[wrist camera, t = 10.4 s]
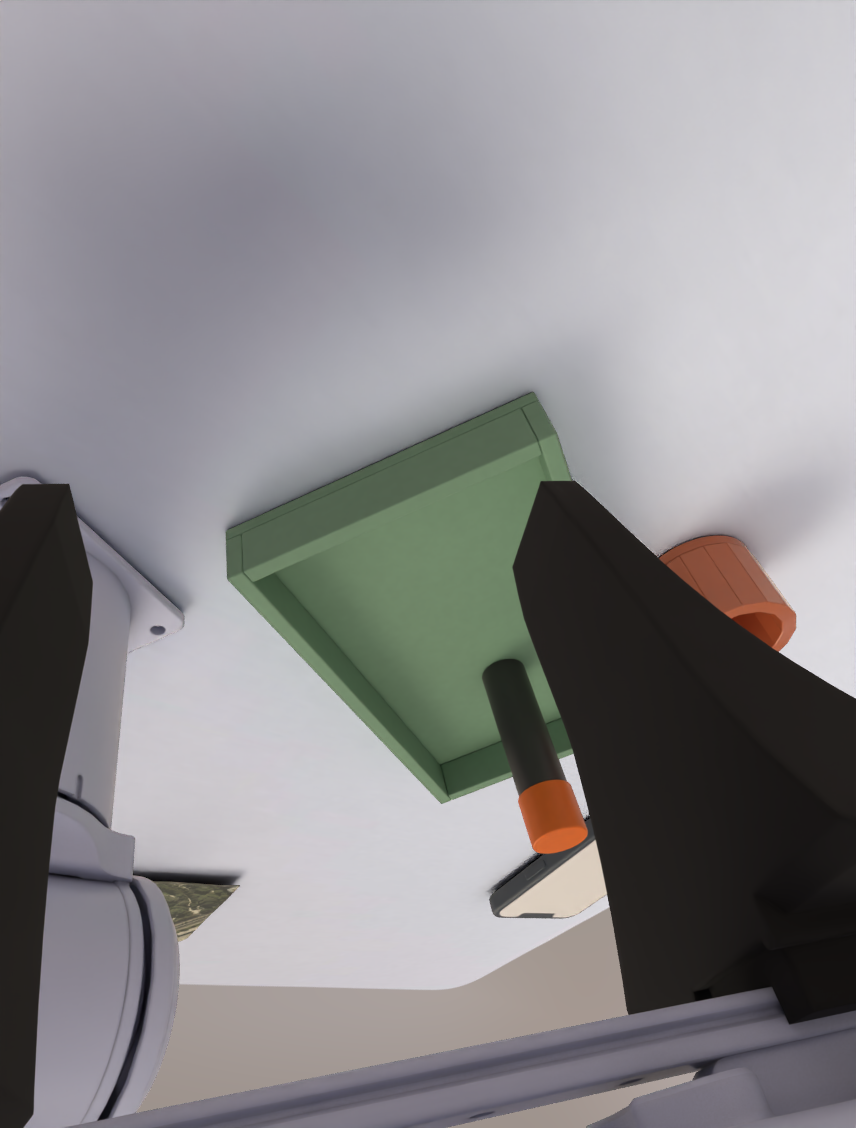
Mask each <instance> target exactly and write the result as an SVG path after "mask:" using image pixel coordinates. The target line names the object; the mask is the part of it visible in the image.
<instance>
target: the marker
mask: <svg viewBox="0 0 856 1128" xmlns="http://www.w3.org/2000/svg"><path fill="white" fill-rule="evenodd" d="M482 680H483V684H484V687H485V690H486V693H487V696H488V700H489V703H490V706H491V709H492V712H493V715H494V719H495V722H496V725H497V728H498V731H499V734H500V738H501V741H502V744H503V747H504V750H505V753H506V757H507V760H508V763H509V766H510V769H511V772H512V776H513V779H514V782H515V785H516V788H517V791H518V795H519V800H518V803H519V806H520V809H521V813H522V816H523V819H524V822H525V825H526V829H527V832H528V835H529V838H530V841H531V845H532V848H533V849H534V850H535V851H536V852H538V853H542V854H550V853H557V852H561V851H564V850H567V849H570V848H572V847H574V846H576V845H578V844H579V843H581V842H582V841H583V840H584V839H585V838H586V837H587V835H588V830H587V827H586V824H585V822H584V819H583V816H582V814H581V811H580V808H579V806H578V803H577V800H576V797H575V795H574V792H573V789H572V787H571V785H570V784H569V783H568V782H567V780H566V778H565V775H564V772H563V770H562V767H561V764H560V761H559V759H558V756H557V753H556V751H555V748H554V745H553V743H552V740H551V737H550V734H549V732H548V729H547V726H546V724H545V721H544V718H543V715H542V713H541V710H540V707H539V705H538V702H537V699H536V696H535V694H534V691H533V688H532V686H531V683H530V680H529V677H528V675H527V672H526V669H525V667H524V664H523V663H522V662H520V661H519V660H516V659H504V660H500V661H497V662H495V663H493V664H491V665H490V666H489V667H487V668H486V669H485V671H484V672H483V675H482Z"/></svg>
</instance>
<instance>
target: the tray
mask: <svg viewBox="0 0 856 1128" xmlns="http://www.w3.org/2000/svg"><path fill="white" fill-rule="evenodd" d="M541 481H572V479H571V476H570V473H569V470H568V467H567V463H566V460H565V457H564V454H563V451H562V448H561V445H560V442H559V438H558V435H557V433H556V431H555V429H554V427H553V425H552V424H551V422H550V420H549V418H548V416H547V415H546V413H545V411H544V409H543V407H542V406H541V404H540V402H539V400H538V398H537V397H536V395H535V393H534V392H532V393H530V394H527V395H525V396H523V397H521V398H519V399H516V400H514V401H512V402H510V403H507V404H505V405H503V406H501V407H499V408H496V409H494V410H492V411H490V412H488V413H485V414H483V415H481V416H479V417H477V418H474V419H472V420H470V421H468V422H465V423H463V424H461V425H459V426H457V427H454V428H452V429H450V430H448V431H446V432H443V433H441V434H439V435H437V436H435V437H432V438H430V439H428V440H426V441H424V442H421V443H419V444H417V445H415V446H412V447H410V448H408V449H406V450H404V451H401V452H399V453H397V454H395V455H393V456H390V457H388V458H386V459H384V460H382V461H379V462H377V463H375V464H373V465H370V466H368V467H366V468H364V469H362V470H359V471H357V472H355V473H353V474H351V475H348V476H346V477H344V478H342V479H340V480H337V481H335V482H333V483H331V484H328V485H326V486H324V487H322V488H320V489H317V490H315V491H313V492H311V493H309V494H306V495H304V496H302V497H300V498H298V499H295V500H293V501H291V502H289V503H286V504H284V505H282V506H280V507H278V508H275V509H273V510H271V511H269V512H267V513H264V514H262V515H260V516H258V517H256V518H253V519H251V520H249V521H247V522H245V523H242V524H240V525H238V526H236V527H233V528H231V529H229V530H227V531H226V558H227V579H228V581H229V582H230V583H231V584H232V585H233V586H234V587H235V588H236V589H237V590H238V591H239V592H240V593H241V594H242V595H243V596H244V597H245V598H246V599H247V601H248V602H249V603H250V604H251V605H252V606H253V607H254V608H255V609H256V610H257V611H258V612H259V613H260V614H261V615H262V616H263V617H264V618H265V619H266V620H267V622H268V623H269V624H270V625H271V626H272V627H273V628H274V629H275V630H276V631H277V632H278V633H279V634H280V635H281V636H282V637H283V638H284V639H285V640H286V641H287V642H288V644H289V645H290V646H291V647H292V648H293V649H294V650H295V651H296V652H297V653H298V654H299V655H300V656H301V657H302V658H303V659H304V660H305V661H306V662H307V663H308V665H309V666H310V667H311V668H312V669H313V670H314V671H315V672H316V673H317V674H318V675H319V676H320V677H321V678H322V679H323V680H324V681H325V682H326V683H327V684H328V686H329V687H330V688H331V689H332V690H333V691H334V692H335V693H336V694H337V695H338V696H339V697H340V698H341V699H342V700H343V701H344V702H345V703H346V704H347V705H348V706H349V708H350V709H351V710H352V711H353V712H354V713H355V714H356V715H357V716H358V717H359V718H360V719H361V720H362V721H363V722H364V723H365V724H366V725H367V726H368V727H369V729H370V730H371V731H372V732H373V733H374V734H375V735H376V736H377V737H378V738H379V739H380V740H381V741H382V742H383V743H384V744H385V745H386V746H387V747H388V748H389V749H390V751H391V752H392V753H393V754H394V755H395V756H396V757H397V758H398V759H399V760H400V761H401V762H402V763H403V764H404V765H405V766H406V767H407V768H408V769H409V770H410V772H411V773H412V774H413V775H414V776H415V777H416V778H417V779H418V780H419V781H420V782H421V783H422V784H423V785H424V786H425V787H426V788H427V789H428V790H429V791H430V793H431V794H432V795H433V796H434V797H435V798H436V799H437V800H438V801H439V802H440V803H441V804H443V803H445V802H448V801H451V799H452V800H453V799H456V798H459V797H461V796H464V795H466V794H469V793H472V792H474V791H477V790H479V789H482V788H485V787H487V786H490V785H493V784H495V783H498V782H500V781H503V780H506V779H508V778H511V777H513V776H512V772H511V769H510V766H509V763H508V760H507V757H506V753H505V750H504V747H503V744H502V741H501V738H500V734H499V731H498V728H497V725H496V722H495V719H494V715H493V712H492V709H491V706H490V703H489V700H488V696H487V693H486V690H485V687H484V684H483V680H482V675H483V672H484V671H485V669H486V668H487V667H489V666H490V665H491V664H493V663H495V662H497V661H500V660H504V659H516V660H519V661H520V662H522V663H523V664H524V667H525V669H526V672H527V675H528V677H529V680H530V683H531V686H532V688H533V691H534V694H535V696H536V699H537V702H538V705H539V707H540V710H541V713H542V715H543V718H544V721H545V724H546V726H547V729H548V732H549V734H550V737H551V740H552V743H553V745H554V748H555V751H556V753H557V756H558V759H561V758H563V757H566V756H569V755H571V754H574V753H573V750H572V747H571V744H570V741H569V738H568V735H567V732H566V729H565V726H564V724H563V721H562V719H561V716H560V713H559V711H558V708H557V706H556V703H555V700H554V698H553V695H552V692H551V690H550V687H549V685H548V682H547V679H546V677H545V674H544V672H543V669H542V666H541V664H540V661H539V659H538V656H537V653H536V651H535V648H534V645H533V643H532V640H531V637H530V634H529V632H528V629H527V626H526V623H525V621H524V617H523V613H522V609H521V605H520V601H519V597H518V592H517V587H516V583H515V578H514V573H513V568H512V566H513V563H514V560H515V557H516V554H517V551H518V548H519V545H520V542H521V539H522V536H523V533H524V530H525V527H526V524H527V521H528V518H529V515H530V512H531V509H532V506H533V503H534V500H535V497H536V494H537V491H538V488H539V485H540V482H541Z"/></svg>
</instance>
